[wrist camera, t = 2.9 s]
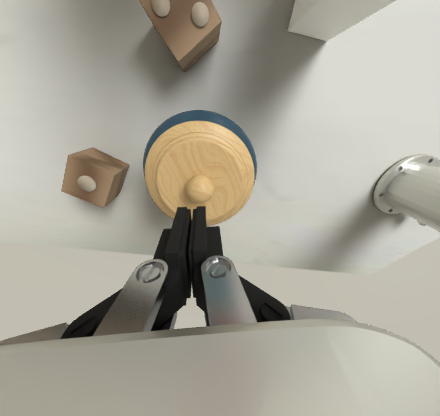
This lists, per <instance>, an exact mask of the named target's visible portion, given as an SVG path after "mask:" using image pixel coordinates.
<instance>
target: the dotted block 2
mask: <svg viewBox="0 0 440 416" xmlns="http://www.w3.org/2000/svg"><path fill="white" fill-rule="evenodd" d="M139 1H140V3H141V5H142V6H143V8H144V10H145V11H146V13H147V15H148V16H149V18H150V20H151V21H152V23H153V25H154V26H155V28H156V29H157V31H158V33H159V34H160V36H161V37H162V39H163V40H164V42H165V43H166V45H167V46H168V48H169V50H170V51H171V53H172V54H173V56H174V57H175V59H176V60H177V62H178V64H179V65H180V67H181V68H182V70H183V71H184V72H185V71H186V70H187V69H188V68H189V67H190V66H191V65H192V64H194V63H195V62H196V61H197V60H198V59H199V58H200V57H201V56H202V55H203V54H204V53H206V52H207V51H208V50H209V49H210V48H211V47H212V46H213V45H214V44H215V43H216V42H218V39H219V33H220V27H221V19H220V17H219V15H218V13H217V11H216V9H215V7H214V5H213V3H212V1H211V0H139Z"/></svg>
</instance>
